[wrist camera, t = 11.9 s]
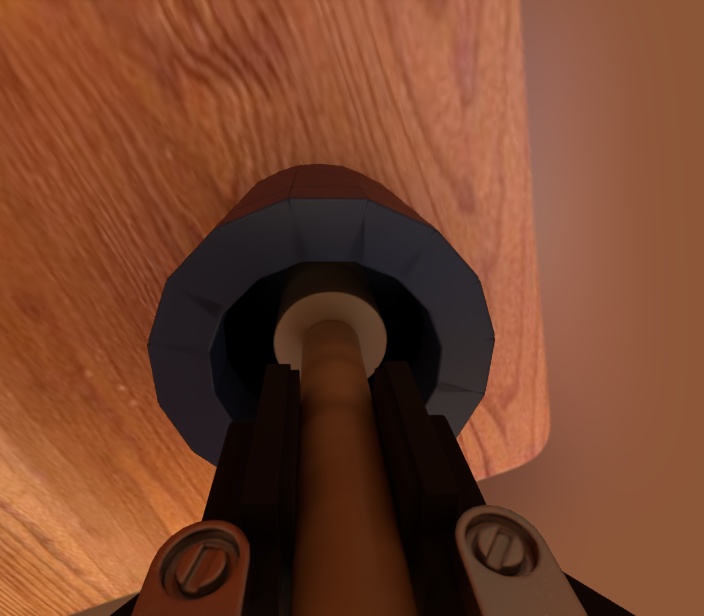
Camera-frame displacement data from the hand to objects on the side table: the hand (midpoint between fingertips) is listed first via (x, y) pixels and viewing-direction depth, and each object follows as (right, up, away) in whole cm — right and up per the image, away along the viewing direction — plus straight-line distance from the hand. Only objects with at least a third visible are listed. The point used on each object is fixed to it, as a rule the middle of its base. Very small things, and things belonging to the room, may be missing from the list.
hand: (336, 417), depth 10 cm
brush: (-1, +3, +8) cm, 9 cm away
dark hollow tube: (-1, +5, +11) cm, 12 cm away
